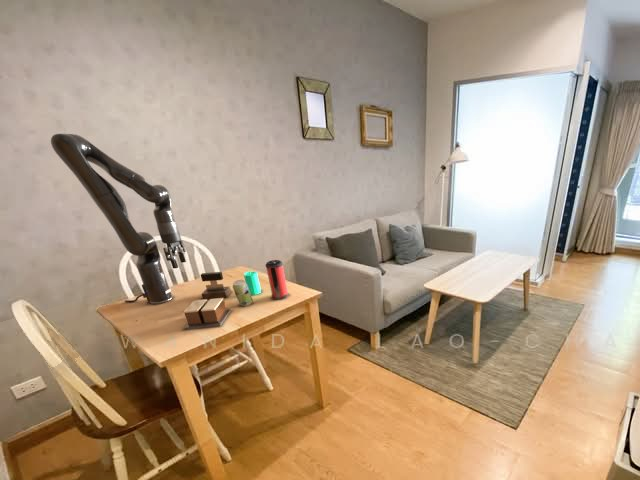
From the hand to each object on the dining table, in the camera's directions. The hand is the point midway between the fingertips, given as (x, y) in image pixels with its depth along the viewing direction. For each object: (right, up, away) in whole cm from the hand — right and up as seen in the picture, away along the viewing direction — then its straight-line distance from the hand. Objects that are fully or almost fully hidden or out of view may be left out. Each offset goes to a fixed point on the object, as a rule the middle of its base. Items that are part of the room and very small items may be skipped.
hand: (179, 265), depth 157 cm
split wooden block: (+22, -25, -15) cm, 37 cm away
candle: (+31, -13, +11) cm, 35 cm away
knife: (+13, -14, +9) cm, 21 cm away
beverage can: (+32, -19, -1) cm, 37 cm away
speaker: (+46, -15, +6) cm, 49 cm away
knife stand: (+13, -14, +9) cm, 21 cm away
